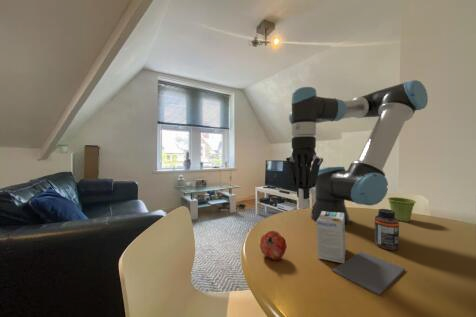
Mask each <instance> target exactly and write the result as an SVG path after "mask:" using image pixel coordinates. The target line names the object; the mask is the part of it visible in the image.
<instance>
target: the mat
mask: <svg viewBox="0 0 476 317" xmlns="http://www.w3.org/2000/svg"><path fill="white" fill-rule="evenodd" d="M331 270H332V272H333V273H335V274H337V275H339V276H341V277H343V278H344V279H347V280H348V281H350V282H352V283H353V284H355V285H358V286H360V287H362V288H364V289H366V290H368V291H369V292H372V293H374V294H375V295H377V296H380V295H382V294H383V293H384V292H385V291H386V290H387V288H389V287H390V285H392V283H393V282H395V281H396V280H397V279H398V278H399V277H400V275H402V274H403V272H405V267H402V266H400V265H397V264H394V263H392V262H389V261H386V260H384V259H380V258H378V257H376V256H374V255H371V254H368V253H365V252H364V251H360V252H358V253H357V254H354V255H353V256H352V257H350V258H348V259H347V260H345V262H344V264H343V263H339V265H337V266H335V267H333V268H332V269H331Z"/></svg>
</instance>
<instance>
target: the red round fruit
mask: <svg viewBox="0 0 476 317" xmlns="http://www.w3.org/2000/svg"><path fill="white" fill-rule="evenodd" d="M259 248H260V250H261V253H262V254H263V256H265V257H267V258H269V259H272V260H274V261H275V260H276V261H278V260H280V259H282V258H283V257H284V255H285V252H286V249H287V242H286V239H285V237H284V236H282V235H281V234H280V233H279V232H278V231H274V230H270V231H267V232H266V233H265V234H263V235H262V236H261V238H260V244H259Z"/></svg>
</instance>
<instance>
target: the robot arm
mask: <svg viewBox="0 0 476 317" xmlns="http://www.w3.org/2000/svg"><path fill="white" fill-rule="evenodd" d="M317 95H318V94H317V90H316V88H315V87H311V86H305V87H304V86H303V87H298V88H297V89H295V90H294V91H293V92H292V94H291V112H290V114H289V116H288V120H289V123H290V124H291V136H292V138H291V149H292V152H291V156H289V157H286V162H287V164H288V170H289V176H290V180H291V181H290V182H291V185H292V186H294V187H295V188H296V197H297V198H298V209H301V210H304V209H308V208H309V207H308V204H309V203H308V200H309V199H310V189H312V188H314V191H315V194H314V195H315V196H314V199H315V201H314V203H313V207H312V210H311V213H310V218H311V220H313V221H315V222H317V219H318V217H319V216H320V214H321V211H327V212H339V213H344V219H345V225H347V224H349V223H350V215H349V212H348V210H347V207H346V201H347V202H351V203H354V204H356V205H357V204H358V205H365V206H374V205H377V204H379V203H381V202H382V201H383V200H384V199H385V197H386V195H387V193H388V190H389V188H388V186H389V183H388V180H387V177H386V173H385V172H384V170H383V169H384V167H385V165H386V163H387V160H388V159H389V156H390V155H391V152H392V150H393V148H394V146H395V143H396V142H397V140H398V138H399V136H400V133H401V131H402V129H403V126H404V125H405V122H407V121H409V120H411V119H412V118H413V116H414V115H415V112H416V111H421V110H424V109H425V108H426V107H427V105H428V99H429V98H428V97H429V96H428V92H427V89H426V86H425V85H424V84H423V83H422V82H421V81H419V80H416V79H415V80H414V79H413V80H410V81H409V80H408V81H404V82H403V83H399V84H396V85H393V86H389V87H386V88H383V89H379V90H375V91H373V92H370V93H368V94H366V95H362V96H357V97H354V98H353V99H349V100H342V99H338V98H335V97H334V98H330V97H321V96H317ZM376 117H378V119H377V121H376V122H375V124H374V126H373V128H372V130H371V132H370V134H369V136H368V138H367V141H366V143H365V145H364V146H363V149H362V150H361V153H360V154H359V156H358V158H357V160H355V161H351V163H350V165H349V166H348V169H347V170H346V169H345V167H344V166H332V167H331V166H327V167H321V165H322V163H323V162H324V159H323V158H322V157H319V156H317V153H316V150H315V149H316V145H317V139H316V136H317V124H320V123H321V124H322V123H327V122H339V121H341V120H344V119H349V118H355V119H363V118H376Z"/></svg>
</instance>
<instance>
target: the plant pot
mask: <svg viewBox="0 0 476 317" xmlns="http://www.w3.org/2000/svg"><path fill="white" fill-rule="evenodd" d="M387 201H388V204H389V207H390V210H392V211H394V212H395V216H394V217H395V218H396V219H398V221H400V222H407V223H408V222H410V221H411V219H412V213H413V209H414V206H415V203H417V202H416V200H414V199H410V198H406V197H399V196H398V197H388V198H387Z"/></svg>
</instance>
